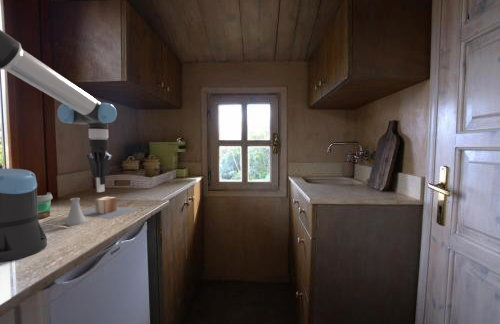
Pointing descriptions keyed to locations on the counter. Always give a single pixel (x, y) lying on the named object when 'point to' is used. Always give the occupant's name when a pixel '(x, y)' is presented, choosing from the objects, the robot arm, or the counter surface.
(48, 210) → the food container
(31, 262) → the counter surface
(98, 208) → the birch cube
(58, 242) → the counter surface
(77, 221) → the flask
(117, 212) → the rubber mat
